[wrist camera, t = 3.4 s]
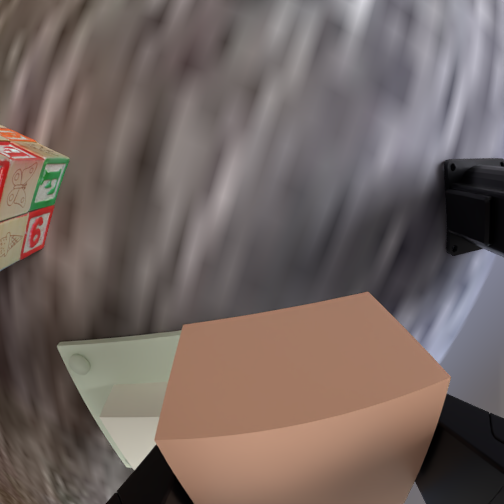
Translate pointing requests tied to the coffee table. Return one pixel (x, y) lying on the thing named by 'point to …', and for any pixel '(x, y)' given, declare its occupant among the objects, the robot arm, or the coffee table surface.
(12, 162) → the stack of blocks
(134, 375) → the baseplate
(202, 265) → the coffee table surface
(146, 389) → the brick cream
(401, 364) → the brick terracotta
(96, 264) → the coffee table surface
